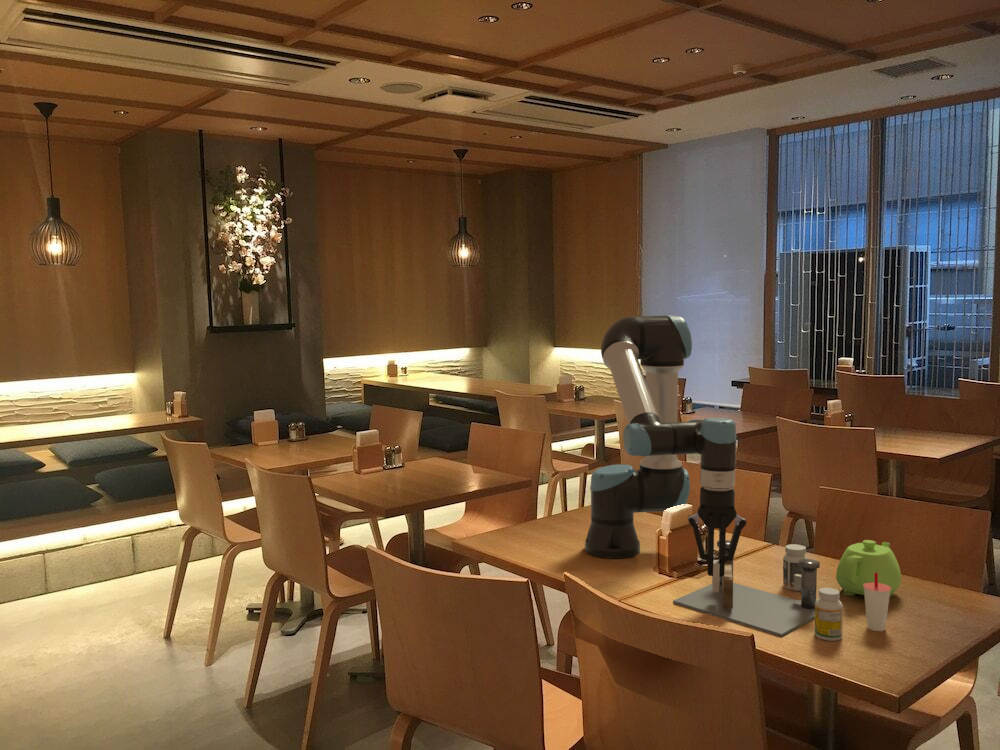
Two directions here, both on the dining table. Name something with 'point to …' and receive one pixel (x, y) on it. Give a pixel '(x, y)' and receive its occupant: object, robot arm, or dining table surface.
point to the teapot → (868, 567)
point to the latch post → (807, 582)
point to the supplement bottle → (828, 615)
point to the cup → (876, 604)
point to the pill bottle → (792, 564)
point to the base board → (751, 608)
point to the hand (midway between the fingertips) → (715, 589)
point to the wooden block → (727, 586)
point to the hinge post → (727, 543)
